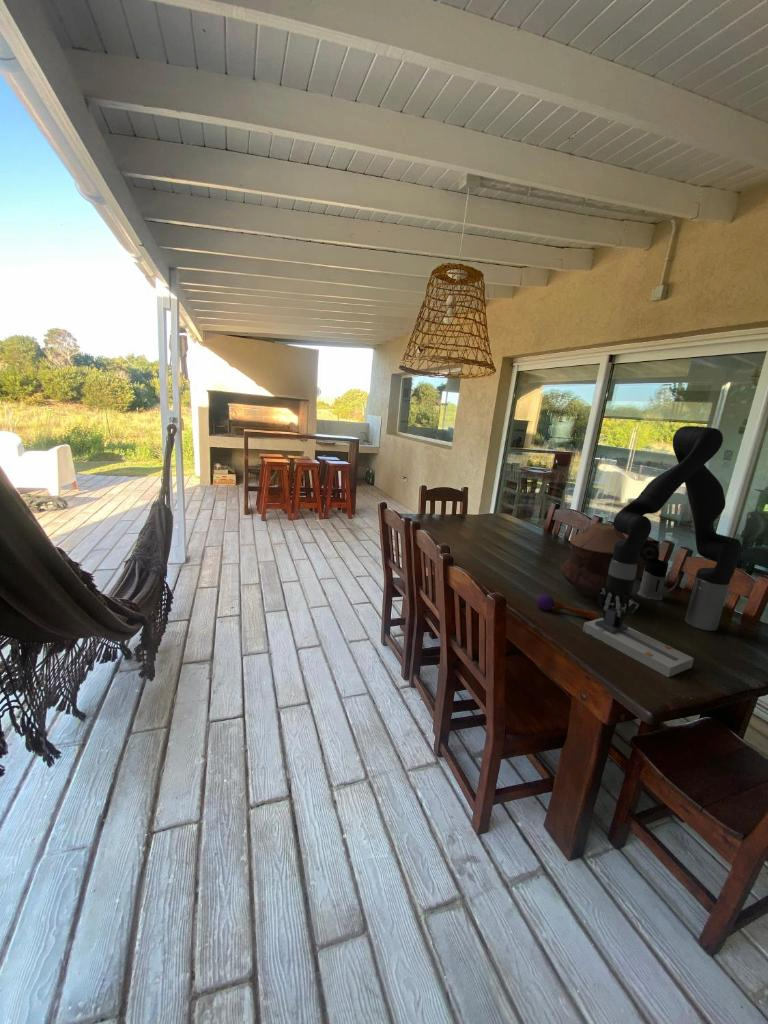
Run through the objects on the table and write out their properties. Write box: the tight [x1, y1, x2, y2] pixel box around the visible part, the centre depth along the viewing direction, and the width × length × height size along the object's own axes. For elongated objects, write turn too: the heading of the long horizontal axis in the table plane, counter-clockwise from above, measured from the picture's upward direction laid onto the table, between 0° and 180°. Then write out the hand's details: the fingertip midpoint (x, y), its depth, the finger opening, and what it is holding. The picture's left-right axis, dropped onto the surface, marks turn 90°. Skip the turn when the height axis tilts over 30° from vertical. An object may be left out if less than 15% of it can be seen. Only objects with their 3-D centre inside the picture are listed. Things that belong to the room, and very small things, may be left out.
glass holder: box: [637, 559, 680, 601], centre depth 164 cm, size 9×14×15 cm, turn 15°
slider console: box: [582, 617, 694, 678], centre depth 126 cm, size 12×27×3 cm, turn 27°
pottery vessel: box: [560, 522, 628, 600], centre depth 162 cm, size 26×26×30 cm
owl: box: [635, 537, 660, 582], centre depth 187 cm, size 13×13×20 cm
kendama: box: [536, 593, 598, 621], centre depth 147 cm, size 6×6×20 cm
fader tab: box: [595, 607, 629, 633], centre depth 132 cm, size 8×6×6 cm
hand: (611, 623), depth 133 cm, fingers closed on fader tab, 3 cm apart
